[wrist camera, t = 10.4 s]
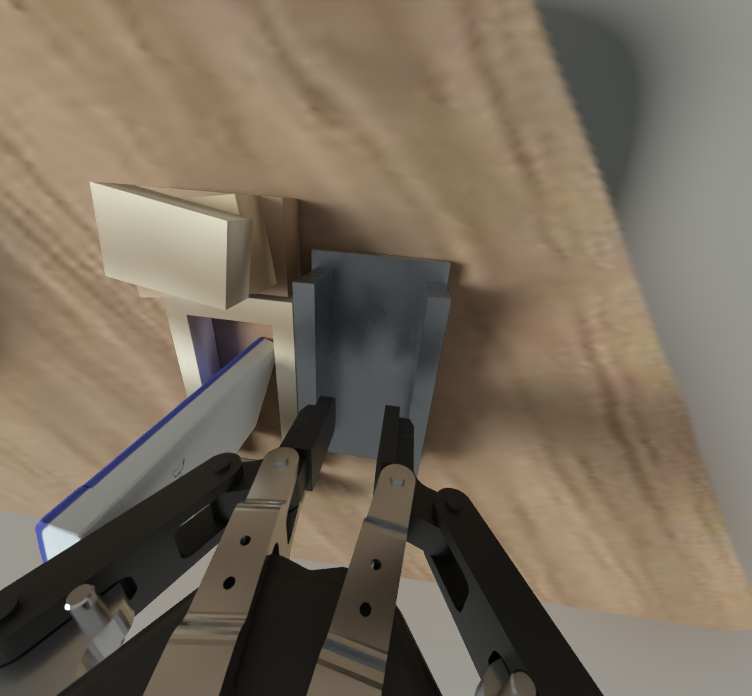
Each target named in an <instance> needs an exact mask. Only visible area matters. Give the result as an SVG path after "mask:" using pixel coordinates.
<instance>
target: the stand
mask: <svg viewBox="0 0 752 696" xmlns="http://www.w3.org/2000/svg"><path fill="white" fill-rule="evenodd" d="M311 258H312V270H311V271H310V272H308V273H306V274H305V275H303V276H301V277H300V278H298V279H296V280H295V281H293V282H292V286H293V307H294V327H295V348H296V369H297V389H298V410H299V412H300V410H301V409H303V408H304V407H305V406H307V405H308V404H310V405H316V403H317V401H318V399H319V397H320V396H327V397H335V398H336V421H335V429H334V434H333V437H332V439H331V442H330V445H329V448H328V450H327V452H333V453H339V454H346V455H352V456H359V457H365V458H372V459H377V457H378V450H379V444H380V437H381V431H382V425H383V418H384V412H385V405H392V406H399V407H400V416H399V417H401V418H408V419H410V420H411V422H412V424H413V425H414V473H415V476H416V477H417V474H418V469H419V464H420V459H421V454H422V449H423V443H424V438H425V433H426V428H427V423H428V418H429V413H430V408H431V403H432V398H433V392H434V387H435V382H436V377H437V372H438V367H439V362H440V357H441V352H442V347H443V342H444V336H445V331H446V326H447V321H448V316H449V311H450V306H451V301H452V299H451V296H450V293H449V291H448V288H447V283H448V277H449V272H450V267H451V263H450V261H445V260H435V259H425V258H415V257H405V256H395V255H385V254H375V253H364V252H354V251H344V250H334V249H324V248H314V249H312V250H311Z"/></svg>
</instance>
